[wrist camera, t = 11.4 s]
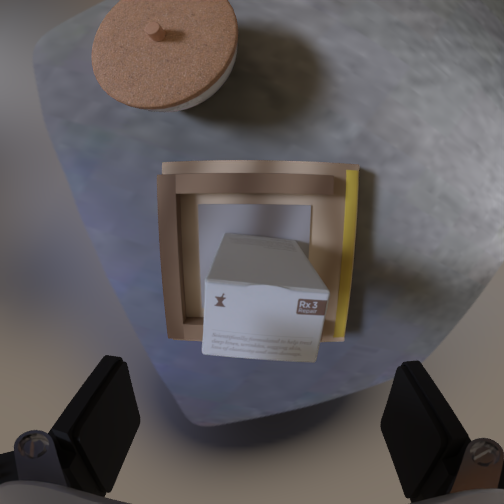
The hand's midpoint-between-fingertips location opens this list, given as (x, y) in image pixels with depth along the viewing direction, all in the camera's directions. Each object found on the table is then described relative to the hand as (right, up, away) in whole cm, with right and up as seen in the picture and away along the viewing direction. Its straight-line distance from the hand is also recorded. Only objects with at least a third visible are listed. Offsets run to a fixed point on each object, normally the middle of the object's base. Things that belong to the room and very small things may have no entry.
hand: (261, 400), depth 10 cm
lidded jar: (-6, +22, +15) cm, 27 cm away
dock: (0, +5, +19) cm, 20 cm away
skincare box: (0, +4, +17) cm, 18 cm away
